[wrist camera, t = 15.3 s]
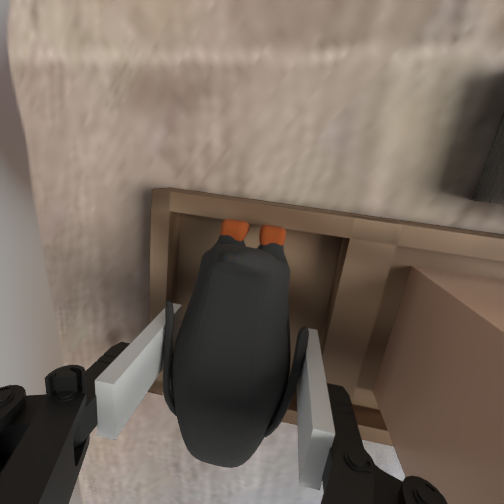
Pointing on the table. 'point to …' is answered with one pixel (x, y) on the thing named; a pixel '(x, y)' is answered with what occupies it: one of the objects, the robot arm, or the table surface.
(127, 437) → the table surface
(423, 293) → the tan block
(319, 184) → the table surface
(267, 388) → the figurine
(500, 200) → the button collar
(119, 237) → the table surface
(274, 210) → the wooden divided tray
